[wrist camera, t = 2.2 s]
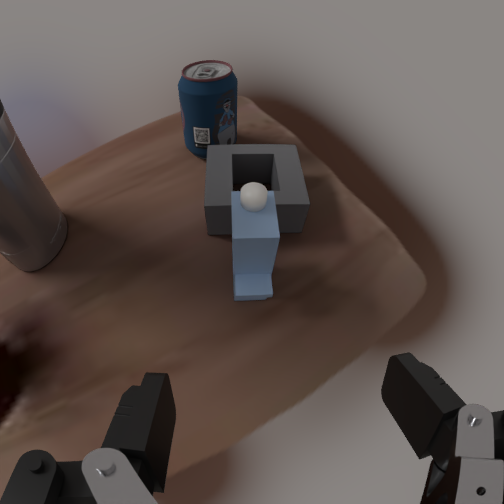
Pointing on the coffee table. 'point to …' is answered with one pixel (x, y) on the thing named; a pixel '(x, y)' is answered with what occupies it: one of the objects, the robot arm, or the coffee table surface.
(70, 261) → the coffee table surface
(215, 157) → the grey block with hole
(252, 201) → the block
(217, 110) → the soda can
